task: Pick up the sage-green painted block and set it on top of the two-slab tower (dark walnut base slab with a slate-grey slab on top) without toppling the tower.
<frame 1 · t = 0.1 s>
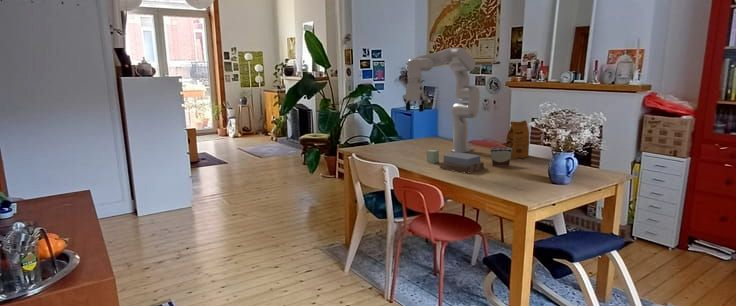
hand: (414, 111, 273), 31 cm above the table, fingers open, 9 cm apart
sage block: (432, 162, 282), on the table
top block: (461, 162, 264), point 3 cm above the table, touching base block
base block: (461, 169, 265), on the table, touching top block
food container: (500, 165, 269), on the table
coffee package: (516, 157, 288), on the table
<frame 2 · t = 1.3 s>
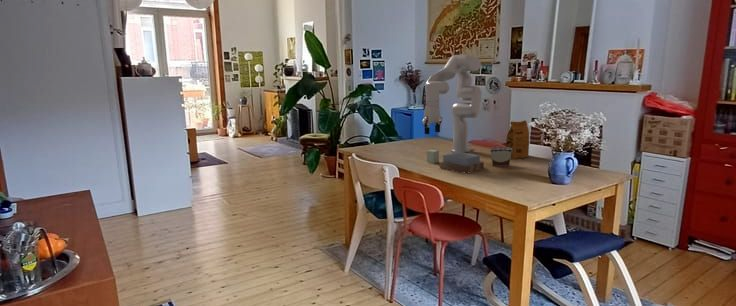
hand: (432, 133, 278), 18 cm above the table, fingers open, 9 cm apart
top block: (461, 162, 264), point 3 cm above the table
base block: (461, 169, 265), on the table
everything else where it was.
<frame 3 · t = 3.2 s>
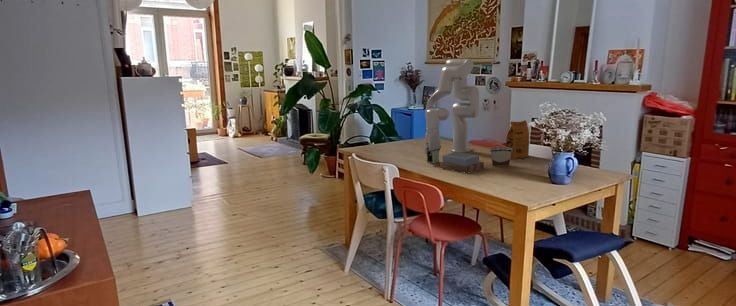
hand: (432, 160, 281), 1 cm above the table, fingers closed on sage block, 5 cm apart
sage block: (432, 162, 281), on the table, touching gripper
top block: (460, 162, 264), point 3 cm above the table, touching base block
base block: (461, 169, 265), on the table, touching top block
everything else where it was.
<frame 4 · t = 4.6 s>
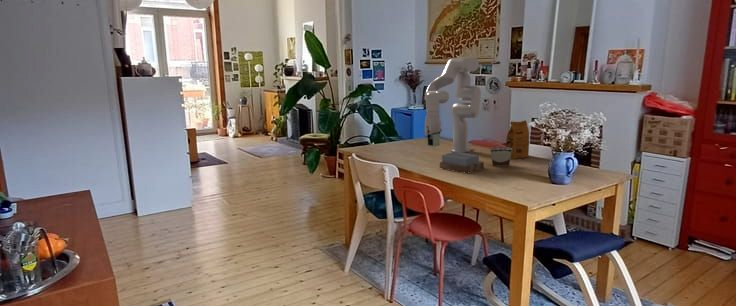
hand: (433, 143, 280), 11 cm above the table, fingers closed on sage block, 5 cm apart
sage block: (433, 145, 280), point 10 cm above the table, touching gripper
everything else where it was.
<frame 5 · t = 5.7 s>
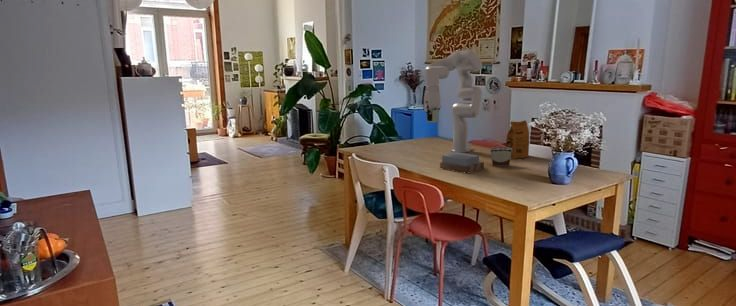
hand: (432, 119, 276), 25 cm above the table, fingers closed on sage block, 5 cm apart
sage block: (432, 121, 277), point 24 cm above the table, touching gripper
everything else where it was.
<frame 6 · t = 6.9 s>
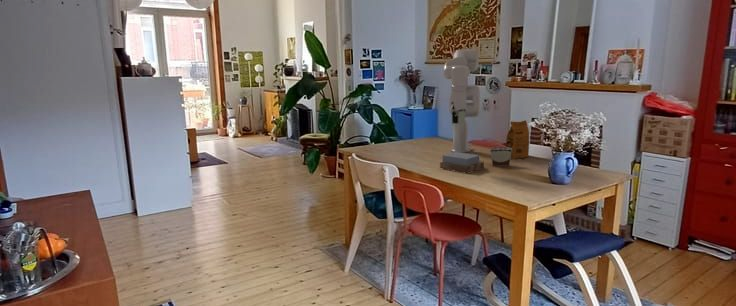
hand: (458, 122, 261), 26 cm above the table, fingers closed on sage block, 5 cm apart
sage block: (458, 123, 261), point 25 cm above the table, touching gripper
everything else where it was.
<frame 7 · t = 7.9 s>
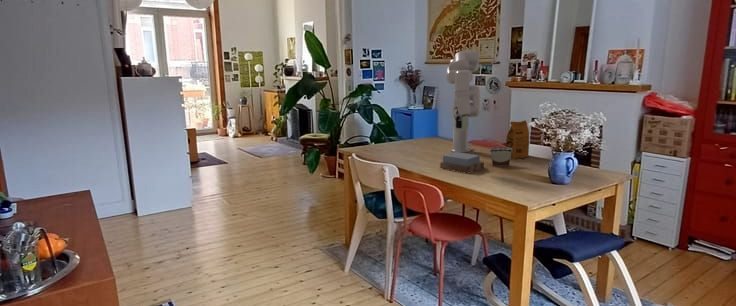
hand: (461, 126, 260), 23 cm above the table, fingers closed on sage block, 5 cm apart
sage block: (461, 128, 260), point 22 cm above the table, touching gripper
top block: (461, 162, 264), point 3 cm above the table
base block: (461, 169, 265), on the table
everything else where it was.
when the fingers open (10 cm above the table, at t = 10.5 s): sage block drops 2 cm, resting on top block.
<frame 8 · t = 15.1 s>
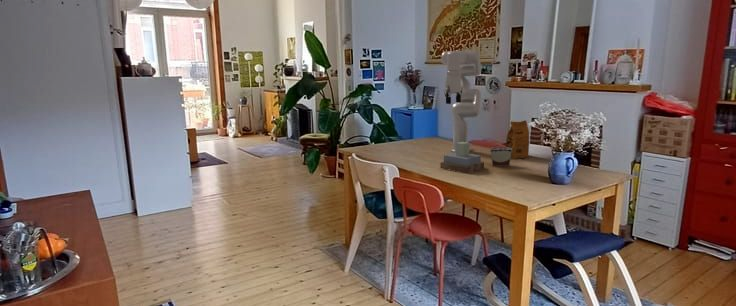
hand: (453, 102, 278), 34 cm above the table, fingers open, 9 cm apart
sage block: (462, 155, 263), point 7 cm above the table, touching top block
top block: (462, 162, 264), point 3 cm above the table, touching base block, sage block
base block: (462, 169, 265), on the table, touching top block
everything else where it was.
at the end: sage block inside the target area on the top block (0.4 cm from its centre), point 4.0 cm above the top block's base; top block tilted 0°; base block moved 0.8 cm from its start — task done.
